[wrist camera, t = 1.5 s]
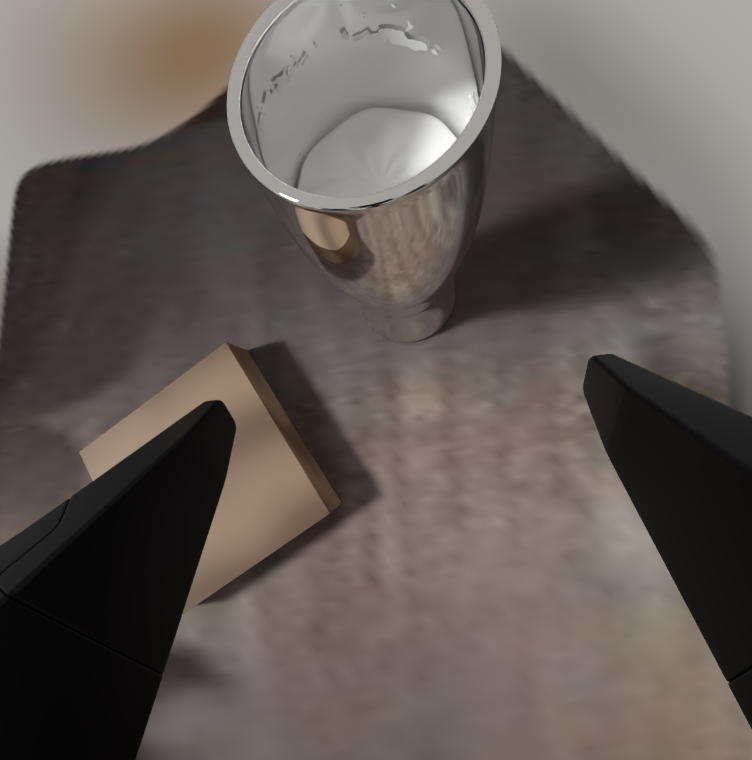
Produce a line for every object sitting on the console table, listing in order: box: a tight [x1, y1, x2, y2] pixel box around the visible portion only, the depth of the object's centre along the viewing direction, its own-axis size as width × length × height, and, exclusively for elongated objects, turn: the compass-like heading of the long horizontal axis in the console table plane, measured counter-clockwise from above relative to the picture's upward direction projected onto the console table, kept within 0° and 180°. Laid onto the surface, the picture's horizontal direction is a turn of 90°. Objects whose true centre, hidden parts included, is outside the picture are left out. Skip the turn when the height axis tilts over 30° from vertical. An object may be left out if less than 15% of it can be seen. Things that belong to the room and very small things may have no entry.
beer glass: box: [227, 0, 501, 342], centre depth 16 cm, size 7×7×15 cm
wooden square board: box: [79, 343, 341, 615], centre depth 22 cm, size 12×12×2 cm
